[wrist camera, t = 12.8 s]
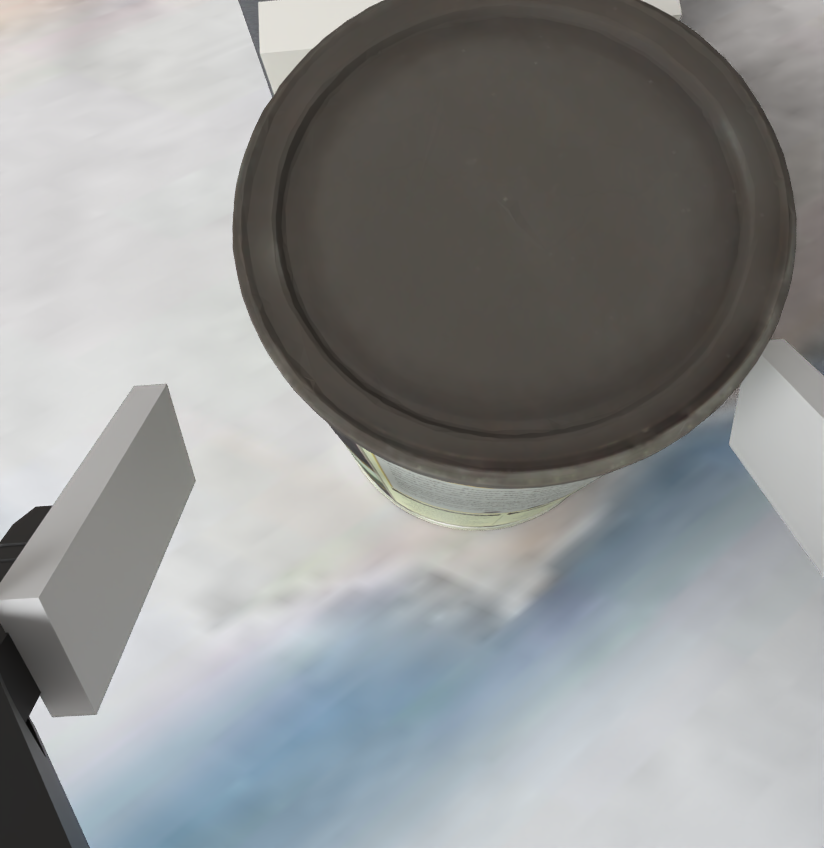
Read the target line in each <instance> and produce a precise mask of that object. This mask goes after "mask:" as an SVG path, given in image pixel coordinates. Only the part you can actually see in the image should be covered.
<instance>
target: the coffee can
mask: <svg viewBox="0 0 824 848" xmlns="http://www.w3.org/2000/svg"><path fill="white" fill-rule="evenodd" d="M795 249H796V212H795V205H794V198H793V191H792V187H791V182H790V177H789V173H788V170H787V166H786V162H785V158H784V154H783V152H782V149H781V147H780V145H779V142H778V140H777V137H776V135H775V132H774V130H773V128H772V126H771V125H770V123H769V121H768V119H767V117H766V115H765V113H764V111H763V109H762V108H761V106H760V105H759V103H758V101H757V100H756V98H755V97H754V95H753V93H752V92H751V90H750V89H749V87H748V86H747V84H746V83H745V81H744V80H743V78H742V77H741V76H740V75H739V74H738V73H737V72H736V70H735V69H734V68H733V67H732V66H731V65H730V64H729V63H728V61H727V60H726V59H725V58H724V57H723V56H722V55H721V54H720V53H718V52H717V51H716V50H715V49H714V48H713V47H712V46H711V45H710V44H709V43H708V42H706V41H705V40H704V39H703V38H702V37H701V36H700V35H699V34H697V33H696V32H695V31H693V30H692V29H690V28H689V27H687V26H686V25H685V24H683V23H682V22H680V21H679V20H677V19H676V18H674V17H673V16H671V15H669V14H667V13H666V12H664V11H662V10H660V9H658V8H656V7H655V6H653V5H651V4H648V3H646V2H644V1H642V0H383V1H381V2H379V3H377V4H375V5H372V6H370V7H368V8H367V9H365V10H364V11H362V12H361V13H359V14H358V15H356V16H354V17H352V18H350V19H349V20H347V21H346V22H344V23H343V24H342V25H341V26H339V27H338V28H337V29H335V30H334V31H333V32H331V33H330V34H329V35H327V36H326V37H325V38H323V39H322V40H321V41H320V43H319V44H317V45H316V46H315V47H314V48H313V49H311V50H310V51H309V52H308V53H307V54H306V56H305V57H304V58H303V59H302V60H301V61H300V62H299V63H298V64H297V65H296V67H295V68H294V69H293V70H292V71H291V72H290V74H289V75H288V76H287V77H286V78H285V80H284V81H283V82H282V83H281V84H280V85H279V87H278V89H277V91H276V93H275V94H274V96H273V98H272V99H271V100H270V102H269V103H268V104H267V106H266V107H265V109H264V110H263V112H262V114H261V116H260V118H259V120H258V122H257V124H256V126H255V129H254V131H253V133H252V136H251V138H250V141H249V143H248V146H247V149H246V151H245V154H244V157H243V160H242V163H241V167H240V171H239V176H238V180H237V184H236V191H235V199H234V212H233V253H234V259H235V264H236V270H237V276H238V280H239V284H240V289H241V293H242V297H243V299H244V302H245V305H246V308H247V310H248V313H249V316H250V318H251V321H252V323H253V325H254V327H255V329H256V331H257V333H258V336H259V338H260V340H261V342H262V344H263V346H264V347H265V349H266V351H267V353H268V354H269V356H270V357H271V359H272V360H273V362H274V363H275V365H276V366H277V368H278V369H279V371H280V372H281V374H282V375H283V377H284V378H285V379H286V380H287V382H288V383H289V384H290V386H291V387H292V388H293V389H294V391H295V392H296V393H297V394H298V395H299V396H300V397H301V398H302V399H303V400H304V401H305V402H306V403H307V404H308V405H309V406H310V407H311V408H312V409H313V410H314V411H315V412H316V413H317V414H318V415H319V416H320V417H322V418H323V419H324V420H325V421H326V422H327V423H328V424H329V425H330V426H331V428H332V429H333V430H334V432H335V433H336V434H337V435H338V436H339V438H340V439H341V440H342V441H343V442H344V444H345V445H346V447H347V448H348V449H349V451H350V452H351V453H352V455H353V456H354V458H355V460H356V462H357V463H358V465H359V467H360V468H361V470H362V471H363V473H364V474H365V475H366V477H367V478H368V479H369V481H370V482H371V483H372V484H373V485H374V486H375V487H376V488H377V489H378V490H379V491H380V492H381V493H382V494H383V495H384V496H385V497H386V498H388V499H389V500H390V501H391V502H392V503H393V504H395V505H396V506H398V507H399V508H401V509H402V510H404V511H406V512H407V513H409V514H411V515H413V516H415V517H417V518H420V519H422V520H425V521H427V522H430V523H433V524H436V525H440V526H444V527H448V528H453V529H461V530H480V531H481V530H494V529H502V528H507V527H511V526H515V525H517V524H520V523H523V522H526V521H529V520H531V519H533V518H536V517H538V516H540V515H542V514H543V513H545V512H547V511H548V510H550V509H551V508H553V507H555V506H557V505H558V504H559V503H560V502H562V501H563V500H564V499H565V498H567V497H568V496H569V495H571V494H572V493H574V492H576V491H577V490H579V489H581V488H582V487H584V486H586V485H587V484H589V483H591V482H592V481H594V480H596V479H597V478H599V477H601V476H602V475H605V474H607V473H610V472H613V471H615V470H618V469H621V468H623V467H626V466H628V465H631V464H633V463H636V462H638V461H640V460H643V459H645V458H647V457H649V456H651V455H653V454H655V453H657V452H659V451H661V450H662V449H664V448H666V447H667V446H669V445H670V444H672V443H674V442H675V441H677V440H679V439H680V438H682V437H683V436H685V435H686V434H688V433H689V432H690V431H691V430H693V429H694V428H695V427H696V426H697V425H699V424H700V423H701V422H702V421H704V420H705V419H706V418H707V417H709V416H710V415H711V414H712V413H713V412H715V411H716V410H717V409H718V408H719V407H720V406H721V405H722V404H723V403H724V402H725V401H726V399H727V398H728V397H729V396H730V395H731V394H732V393H733V392H734V391H735V389H736V388H737V387H738V386H739V385H740V384H741V383H742V381H743V380H744V379H745V377H746V376H747V375H748V374H749V372H750V371H751V370H752V368H753V367H754V366H755V364H756V363H757V361H758V360H759V358H760V356H761V355H762V353H763V351H764V349H765V348H766V346H767V344H768V342H769V341H770V339H771V336H772V334H773V332H774V330H775V328H776V326H777V324H778V321H779V318H780V316H781V313H782V310H783V306H784V303H785V300H786V297H787V294H788V291H789V287H790V283H791V279H792V273H793V267H794V259H795Z"/></svg>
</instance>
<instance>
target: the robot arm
mask: <svg viewBox="0 0 824 848" xmlns="http://www.w3.org/2000/svg"><path fill="white" fill-rule="evenodd" d="M729 445H730V447H731V448H732V450H733V451H734V452H735V454H736V455H737V457H738V458H739V459H740V461H741V462H742V464H743V465H744V467H745V468H746V469H747V471H748V472H749V474H750V475H751V476H752V478H753V479H754V481H755V482H756V484H757V485H758V486H759V488H760V489H761V491H762V492H763V493H764V495H765V496H766V498H767V499H768V500H769V502H770V503H771V505H772V506H773V508H774V509H775V510H776V512H777V513H778V515H779V516H780V517H781V519H782V520H783V522H784V523H785V525H786V526H787V527H788V529H789V530H790V532H791V533H792V534H793V536H794V537H795V539H796V540H797V541H798V543H799V544H800V546H801V547H802V549H803V550H804V551H805V553H806V554H807V556H808V557H809V558H810V560H811V561H812V563H813V564H814V565H815V567H816V568H817V570H818V571H819V573H820V574H821V575H822V577H823V578H824V376H823V375H822V374H821V373H820V372H819V371H818V370H817V369H816V368H815V367H813V366H812V365H811V364H810V363H809V362H808V361H807V360H806V359H805V358H804V357H803V356H802V355H801V354H799V353H798V352H797V351H796V350H795V349H794V348H793V347H792V346H791V345H790V344H789V343H788V342H787V341H785V340H784V339H774V340H770V341H769V342H768V344H767V346H766V348H765V349H764V351H763V353H762V355H761V356H760V358H759V360H758V361H757V363H756V364H755V366H754V367H753V368H752V370H751V371H750V372H749V374H748V375H747V376H746V377H745V379H744V380H743V381H742V383H741V384H740V389H739V394H738V400H737V405H736V410H735V415H734V420H733V426H732V431H731V436H730V441H729ZM195 481H196V480H195V477H194V474H193V470H192V467H191V464H190V460H189V457H188V453H187V450H186V447H185V443H184V440H183V437H182V433H181V430H180V426H179V423H178V420H177V416H176V413H175V410H174V406H173V403H172V399H171V396H170V393H169V389H168V386H167V384H156V385H142V386H134V387H133V388H132V390H131V391H130V393H129V394H128V395H127V397H126V398H125V400H124V401H123V403H122V404H121V406H120V407H119V409H118V410H117V412H116V413H115V415H114V416H113V418H112V419H111V421H110V422H109V423H108V425H107V426H106V428H105V429H104V431H103V432H102V434H101V435H100V437H99V438H98V440H97V441H96V443H95V444H94V446H93V447H92V448H91V450H90V451H89V453H88V454H87V456H86V457H85V459H84V460H83V462H82V463H81V465H80V466H79V468H78V469H77V471H76V472H75V473H74V475H73V476H72V478H71V479H70V481H69V482H68V484H67V485H66V487H65V488H64V490H63V491H62V493H61V494H60V496H59V497H58V499H57V500H56V501H55V503H54V504H53V506H40V507H35V508H34V509H32V510H31V511H30V512H28V513H27V514H26V515H25V516H23V517H22V518H21V519H19V520H18V521H17V522H16V523H14V524H13V525H12V526H11V528H10V529H9V531H8V532H7V533H6V535H5V536H4V537H3V539H2V540H1V542H0V848H90V847H89V845H88V843H87V840H86V838H85V836H84V834H83V832H82V829H81V827H80V825H79V823H78V821H77V818H76V816H75V814H74V812H73V809H72V807H71V805H70V803H69V801H68V798H67V796H66V794H65V792H64V790H63V787H62V785H61V783H60V781H59V779H58V776H57V774H56V772H55V770H54V768H53V765H52V763H51V761H50V759H49V757H48V754H47V752H46V750H45V748H44V745H43V743H42V741H41V739H40V737H39V734H38V732H37V730H36V728H35V726H34V724H33V723H32V721H31V719H30V717H29V715H30V713H31V711H32V709H33V707H34V705H35V703H36V702H37V700H38V698H39V696H41V698H42V700H43V702H44V704H45V705H46V707H47V709H48V711H49V713H50V714H51V716H52V717H64V716H82V715H96V714H97V712H98V710H99V707H100V705H101V703H102V700H103V698H104V696H105V693H106V691H107V689H108V686H109V684H110V681H111V679H112V677H113V674H114V672H115V670H116V667H117V665H118V663H119V660H120V658H121V656H122V653H123V651H124V648H125V646H126V644H127V641H128V639H129V637H130V634H131V632H132V630H133V627H134V625H135V623H136V620H137V618H138V615H139V613H140V611H141V608H142V606H143V604H144V601H145V599H146V597H147V594H148V592H149V590H150V587H151V585H152V582H153V580H154V578H155V575H156V573H157V571H158V568H159V566H160V564H161V561H162V559H163V557H164V554H165V552H166V549H167V547H168V545H169V542H170V540H171V538H172V535H173V533H174V531H175V528H176V526H177V524H178V521H179V519H180V516H181V514H182V512H183V509H184V507H185V505H186V502H187V500H188V498H189V495H190V493H191V491H192V488H193V486H194V483H195Z"/></svg>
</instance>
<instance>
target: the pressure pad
mask: <svg viewBox="0 0 824 848" xmlns="http://www.w3.org/2000/svg"><path fill="white" fill-rule="evenodd" d="M381 1H383V0H274V1H264V2H258V12H259V44H260V56H261V59H262V61H263V64H264V67H265V70H266V73H267V76H268V79H269V82H270V85H271V87H272V90H273V93H274V94H275V93H276V91H277V89H278V87H279V85H280V84H281V83H282V82H283V81H284V80H285V78H286V77H287V76H288V75H289V74H290V72H291V71H292V70H293V69H294V68H295V67H296V65H297V64H298V63H299V62H300V61H301V60H302V59H303V58H304V57H305V56H306V54H307V53H308V52H309V51H310V50H311V49H313V48H314V47H315V46H316V45H317V44H319V43H320V41H321V40H322V39H323V38H325V37H326V36H327V35H329V34H330V33H331V32H333V31H334V30H335V29H337V28H338V27H339V26H341V25H342V24H343V23H344V22H346V21H347V20H349V19H350V18H352V17H354V16H356V15H358V14H359V13H361V12H362V11H364V10H365V9H367V8H368V7H370V6H372V5H375V4H377V3H379V2H381ZM642 1H644V2H646V3H648V4H651V5H653V6H655V7H656V8H658V9H660V10H662V11H664V12H666V13H667V14H669V15H671V16H673V17H674V18H676V19H677V20H680V18H681V15H682V12H681V6H680V1H679V0H642Z"/></svg>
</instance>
